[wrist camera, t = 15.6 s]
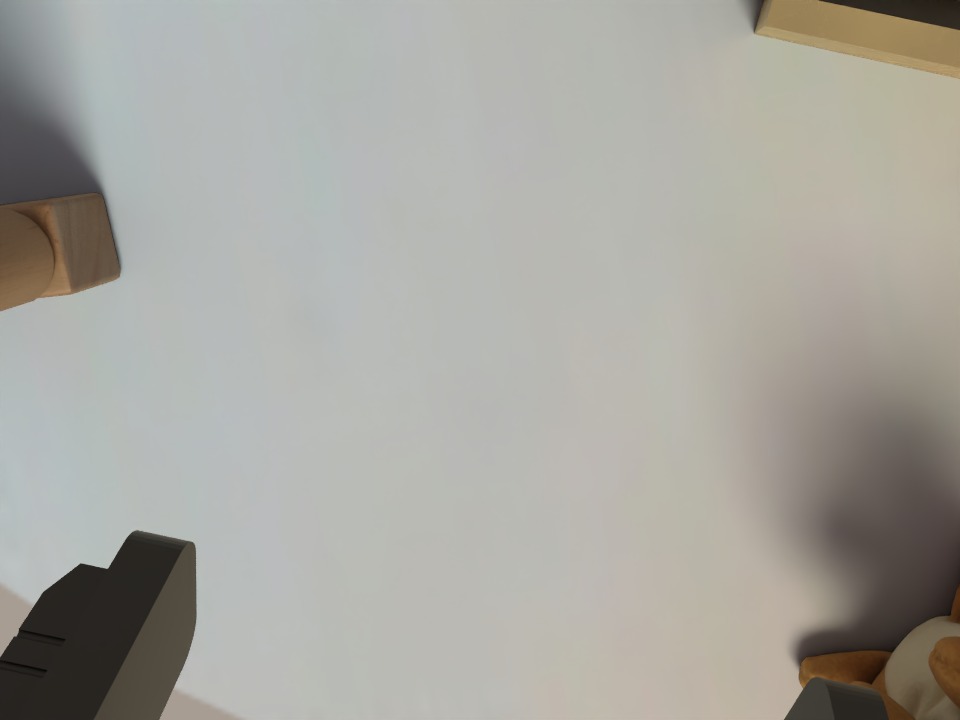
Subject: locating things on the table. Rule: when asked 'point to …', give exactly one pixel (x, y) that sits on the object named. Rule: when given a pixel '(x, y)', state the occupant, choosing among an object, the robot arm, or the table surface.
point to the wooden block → (54, 248)
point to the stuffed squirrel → (905, 670)
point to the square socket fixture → (862, 34)
